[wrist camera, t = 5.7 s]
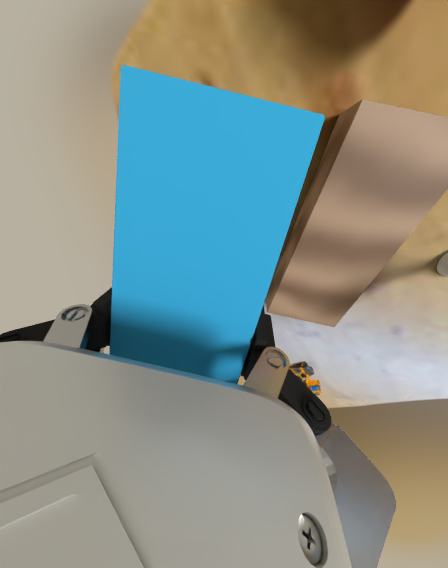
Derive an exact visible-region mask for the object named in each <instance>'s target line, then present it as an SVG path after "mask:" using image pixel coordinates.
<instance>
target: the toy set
mask: <svg viewBox="0 0 448 568" xmlns="http://www.w3.org/2000/svg"><path fill="white" fill-rule="evenodd" d="M293 367H295V368H292V367H290V369H291V370H293V373H295V374H297V375H298V376H297V377H298V378H299V379H300V380H301V381H302V379H306V378H307V377H308V378H309V377H310V376H311V375H313V374H314V372H313V369H312V368H311V367H310V366H308V365H307V363H306V362H305V361H304V362H303V364H301V366H296V365H294V366H293ZM305 384H306V386H307V387H308V388H309V389H310V390H311V391H312V392H313V393H314V394H315V395H320V393H321V390H320V385H319V384H320V383H319V380H318V381H314V380H310V379H307V380H306V383H305Z"/></svg>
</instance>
